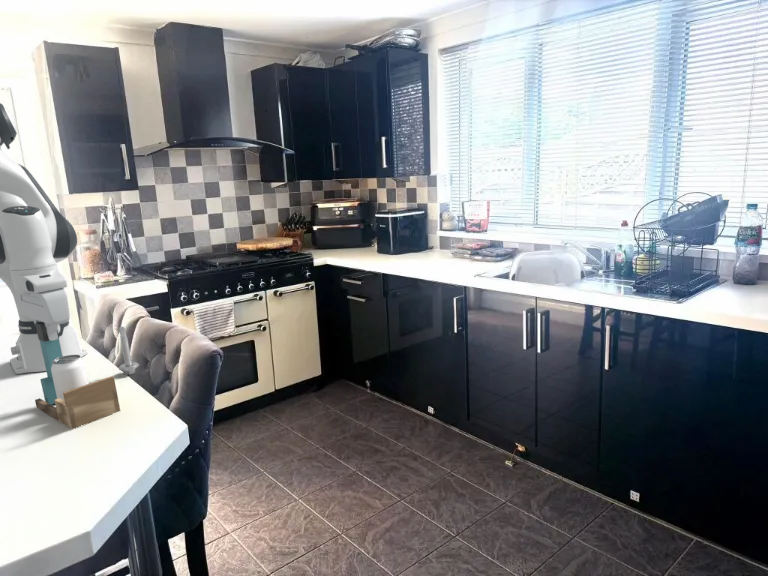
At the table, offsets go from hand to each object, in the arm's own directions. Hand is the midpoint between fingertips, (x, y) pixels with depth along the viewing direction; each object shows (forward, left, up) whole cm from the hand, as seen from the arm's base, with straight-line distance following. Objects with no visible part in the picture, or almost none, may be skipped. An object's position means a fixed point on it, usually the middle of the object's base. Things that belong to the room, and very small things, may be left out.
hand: (48, 338), depth 124 cm
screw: (-3, +18, -16) cm, 24 cm away
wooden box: (+9, 0, -16) cm, 18 cm away
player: (0, 0, -16) cm, 16 cm away
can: (+8, 0, -16) cm, 18 cm away
